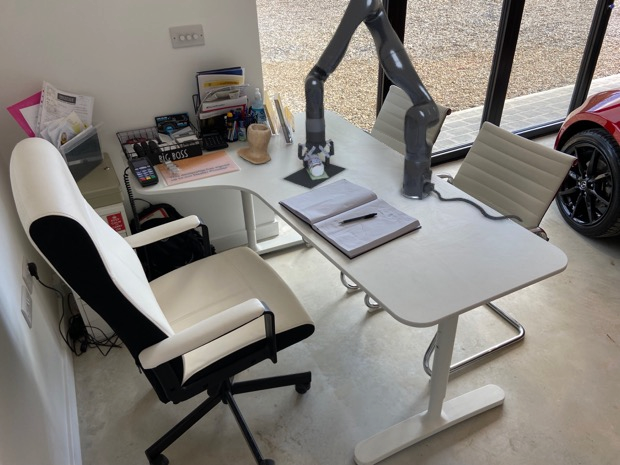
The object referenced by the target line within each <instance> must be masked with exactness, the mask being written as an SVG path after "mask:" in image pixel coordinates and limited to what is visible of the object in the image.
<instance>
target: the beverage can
mask: <svg viewBox="0 0 620 465" xmlns="http://www.w3.org/2000/svg"><path fill="white" fill-rule="evenodd" d="M322 161H323V160H322V159H321V158H320V156H319V153H316V154H311V155H310V156H309V157H308V159H307V165H308V170H309V172H310V173H311V174H312V175H313V176H320V175H322V174H323V172H324V165H323V163H322Z"/></svg>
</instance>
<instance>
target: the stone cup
mask: <svg viewBox="0 0 620 465" xmlns="http://www.w3.org/2000/svg"><path fill="white" fill-rule="evenodd" d="M246 131H247V132H246V137H247V142H248V146H247V147H243V148H239V149H238V150H237V151H236V154H237V156H240V158H243V159H244V160H246V161H248V162H249V163H252V164H255V165H259V164H264V163H267V162H269V161H271V159H272V158H271V156H270V155H269V154H268V148H269V144H270V142H271V138H272V129H271V128H270V127H269V126H268V125H265V124H263V123H251V124H250V125H249V126H248V127H247V130H246Z"/></svg>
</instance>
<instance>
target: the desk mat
mask: <svg viewBox="0 0 620 465" xmlns="http://www.w3.org/2000/svg"><path fill="white" fill-rule="evenodd" d="M321 161H322V163H323V165H324V172H323V174H322V175H320V176H313V175H312V174H311V173H310V172H309V170H308V169H305V168H304V167H303V168H301V169H299V170H297V171H295V172H293V173H291V174H289V175H288V176H285V177H283V181H287V182H290V183H293V184H296V185H298V186H301V187H304V188H307V189H309V190H311V189H313V188H315V187H317V186H319V185H320V184H322V183H324V182H325V181H327V180H329V179H331V178H333V177H335V176H336V175H338V174H339V173H342V172H344V171H346V167H343V166H340V165H337V164H333V163H330V164H329V165H328V166H326V165H325V161H323V160H321Z"/></svg>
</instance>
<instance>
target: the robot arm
mask: <svg viewBox="0 0 620 465" xmlns="http://www.w3.org/2000/svg"><path fill="white" fill-rule="evenodd" d="M362 23H363V24H364V25H365V27H366V28H367V30H368V32H369V34H370V35H371V37H372V40H373V44H374V48H375V51H376V56H377V59H378V62H379V63H380V66H381V68H382V69H383V71H384V73H385V75H386V77H387V78H388V80H390V81H391V83H393V84H394V85H396V86H397V87H398V88H399V89H400V90H401V91H403V92H404V93H405V94H406V95H407V96H408V98H409V100H410V102H411V104H412V105H411V106H409V107H408V108H407V109H406V111H405V112H404V115H403V116H404V117H403V143H404V157H403V169H402V170H403V172H402V174H403V175H402V182H401V195H402V196H404V197H405V198H407V199H412V200H424V199H425V198H426V197H427V196H429V195H430V194H431V193H435V194H436V195H437V197H438V199H439V200H440V201H442V202H457V201H461V202H465V203H468V204H470V205H472V206H474V207H475V208H477V209H478V210H479V211H480V212H481V213H482V214H483V216H485V217H486V218H488V219H491V220H494V221H495V220H497V221H499V220H506V219H514V220H517V221H518V222H520V223H523V222H524V221H523V219H522V218H521V217H519V216H517V215H514V214H507V215H502V216H494V215H490V214H489V213H487V212H486V211H485V209H484V208H483V207H482V206H481V205H479V204H477V203H476V202H474V201H472V200H470V199H469V198H464V197H452V198H444V197H442V194H441V193H440V192H439V191H438V190H437V189H435V183H433V182H432V178H433V177H432V176H433V170H432V169H431V163H432V156H433V155H432V154H433V147H434V146H433V145H434V144H433V141H432V140H431V139H429V138H427V131H428V130H431V129H433V128H435V127H437V126H438V125H439V123H440V121H441V112H440V109H439V106H438V105H437V103H436V101H435V100H434V98H433V97H432V95H431V94H430V92H429V91H428V89H427V88H426V86H425V84H424V83H423V81H422V79H421V78H420V75H419V74H418V71H417V70H416V68H415V66H414V64H413V62H412V60H411V58H410V56H409V53H408V52H407V50H406V47H405V46H404V45H403V43H402V41H401V40H400V38H399V36H398V34H397V32H396V31H395V30H394V28H393V27H392V24H391V23H390V20H389V17H388V15H387V12H386V10H385V7H384V4H383V2H382V0H349V2H348V4H347V6H346V8H345V11H344V13H343V15H342V18H341V19H340V22H339V23H338V25H337V28H336V30H335V32H333V33H334V34H333V35H332V37H331V39H330V40H329V43H328V44H327V45H326V47H325V49H323V51H322V53H321V55H320V56H319V58H318V60H317V62H316V63H315V64H314V65H313V67H312V68H311V69H310V70H309V72H308V73H307V75H306V76H305V79H304V98H305V122H304V124H305V127H304V128H305V143H301V142H300V143H297V158H298V159H299V160H300V161H302V167H303V168H305V169H308V165H307V159H308V157H309V156H310V155H311V154H316V153H318V154H321V153H323V154H324V162H325V165H326V166H328V165H329V164H331V159H330V158H331V157H332V156H335V143H334V141H333V139H331V138H330V139H328V140H326V119H325V104H324V99H325V83H326V81H327V80H328V79H329V77H330V75H332V74H333V73H334V72H335V71H336V69H338V67H339V65H340V64H341V62H342V61H343V59H344V58H345V55H346V54H347V51H348V49H349V46H350V43H351V41H352V38H353V36H354V34H355V32H356V30H357V29H358V27H360V25H361V24H362ZM326 146H328V148H329V151H327V150H326ZM305 148H306V150H305ZM303 151H304V153H303Z"/></svg>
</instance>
